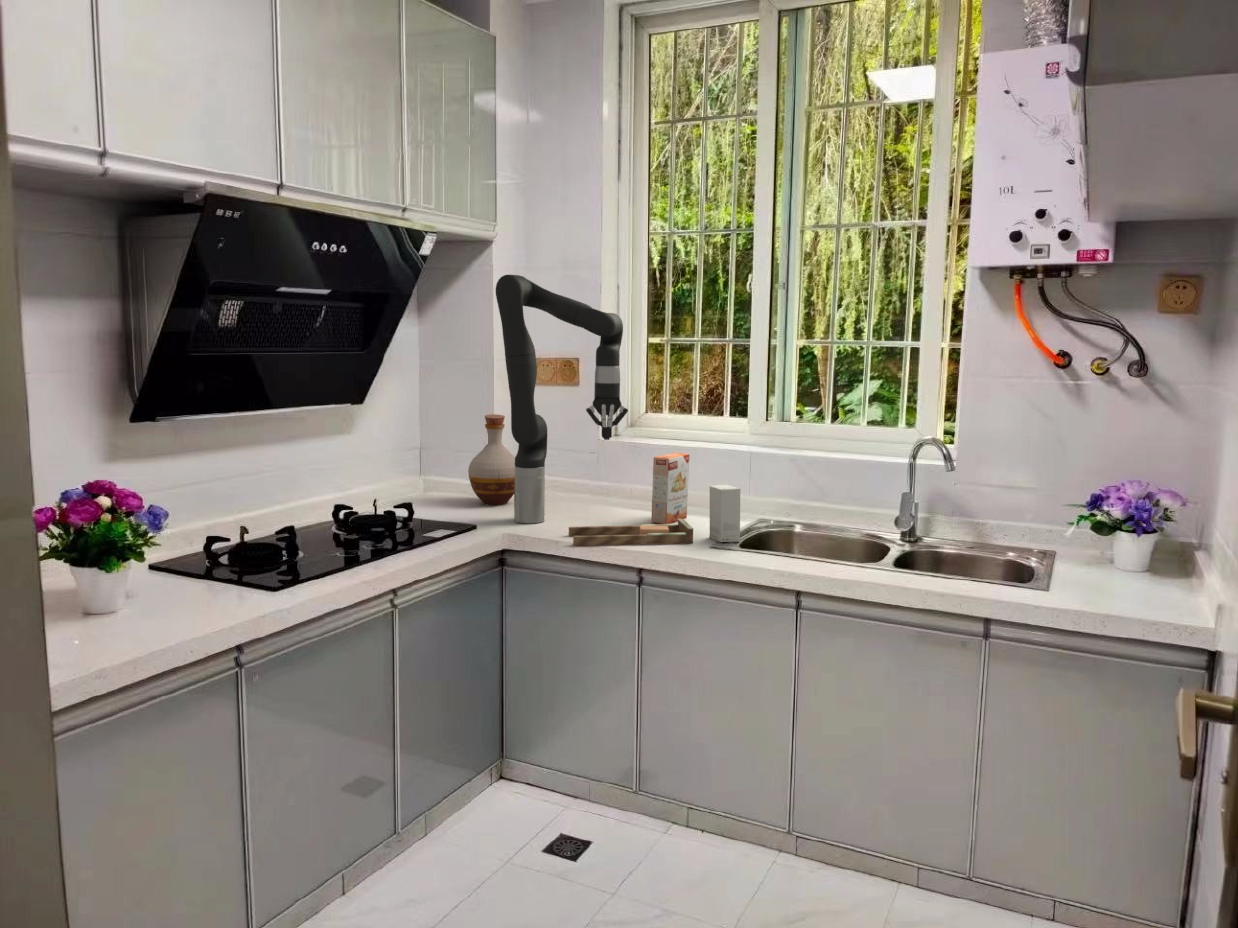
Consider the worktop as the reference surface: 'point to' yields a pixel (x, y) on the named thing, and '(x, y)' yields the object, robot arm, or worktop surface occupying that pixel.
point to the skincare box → (725, 513)
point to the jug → (493, 466)
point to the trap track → (630, 535)
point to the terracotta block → (653, 529)
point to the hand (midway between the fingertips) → (606, 439)
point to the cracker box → (670, 488)
